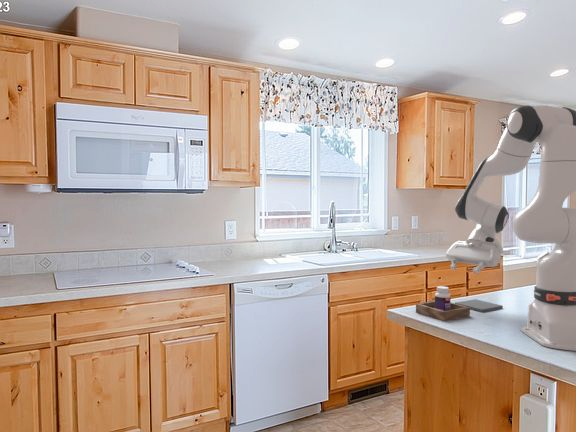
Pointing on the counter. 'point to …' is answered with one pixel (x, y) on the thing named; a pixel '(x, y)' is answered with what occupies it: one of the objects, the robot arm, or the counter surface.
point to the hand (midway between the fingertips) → (463, 270)
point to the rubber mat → (479, 305)
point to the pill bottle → (442, 298)
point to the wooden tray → (453, 313)
